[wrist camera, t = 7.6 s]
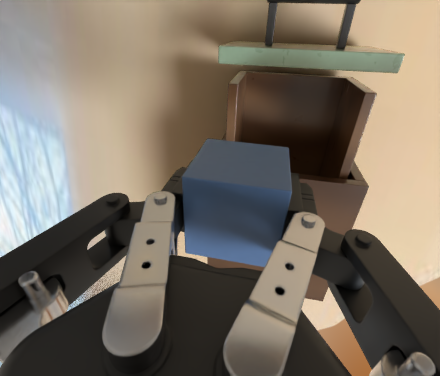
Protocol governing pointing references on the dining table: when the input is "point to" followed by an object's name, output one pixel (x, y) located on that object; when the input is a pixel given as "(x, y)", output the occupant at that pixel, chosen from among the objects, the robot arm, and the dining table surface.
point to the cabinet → (324, 216)
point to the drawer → (304, 96)
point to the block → (236, 200)
